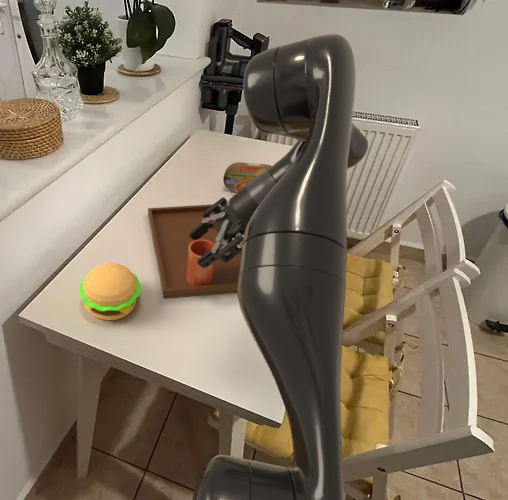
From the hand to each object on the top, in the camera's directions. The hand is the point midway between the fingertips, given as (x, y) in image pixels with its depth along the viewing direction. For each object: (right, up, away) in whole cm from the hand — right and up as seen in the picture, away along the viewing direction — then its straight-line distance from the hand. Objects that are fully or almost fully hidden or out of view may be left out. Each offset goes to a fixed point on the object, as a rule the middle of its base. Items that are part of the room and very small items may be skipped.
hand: (195, 250), depth 86 cm
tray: (+2, 0, +14) cm, 14 cm away
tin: (+18, +16, +33) cm, 41 cm away
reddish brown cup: (+1, -6, +5) cm, 8 cm away
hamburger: (-17, -11, 0) cm, 20 cm away
